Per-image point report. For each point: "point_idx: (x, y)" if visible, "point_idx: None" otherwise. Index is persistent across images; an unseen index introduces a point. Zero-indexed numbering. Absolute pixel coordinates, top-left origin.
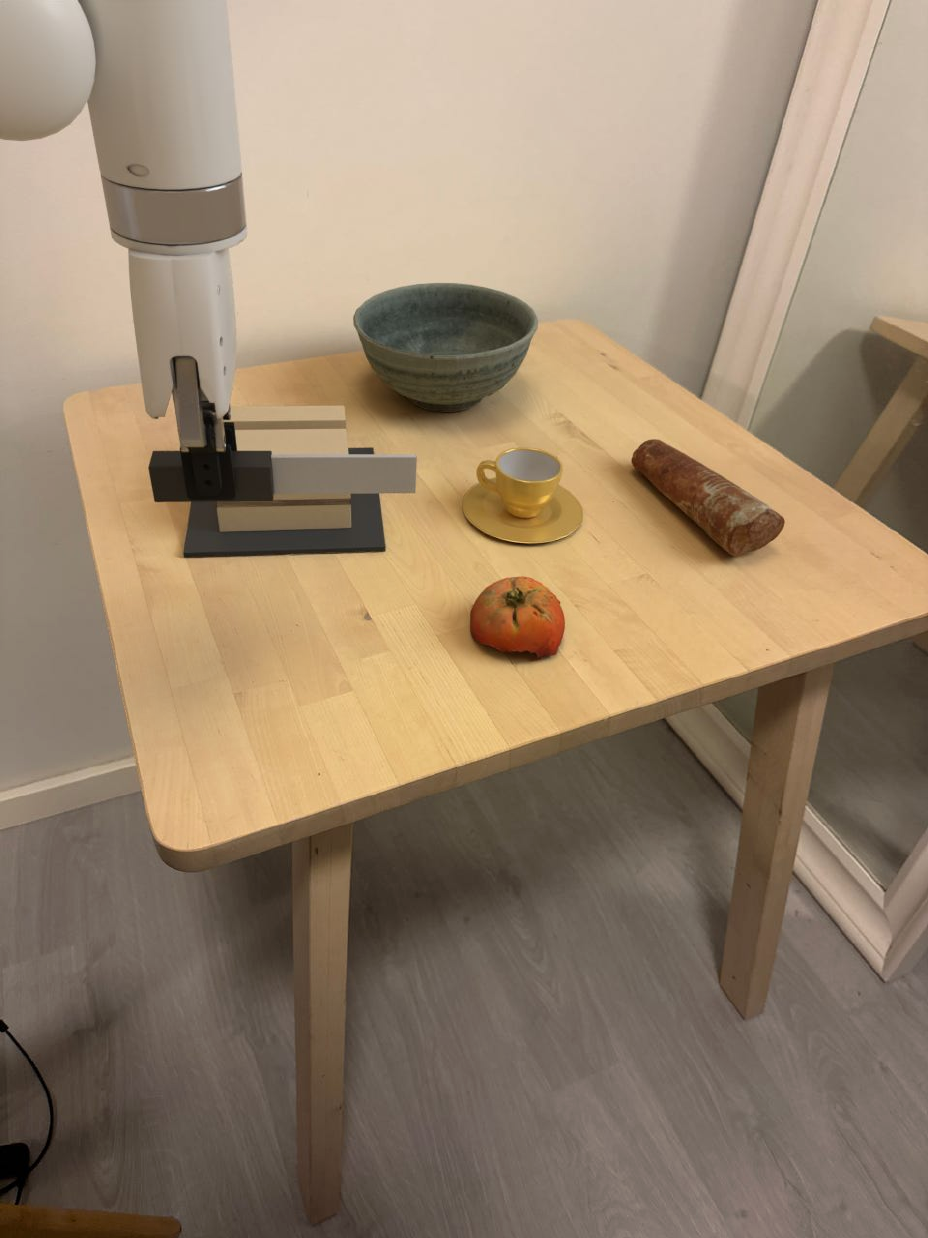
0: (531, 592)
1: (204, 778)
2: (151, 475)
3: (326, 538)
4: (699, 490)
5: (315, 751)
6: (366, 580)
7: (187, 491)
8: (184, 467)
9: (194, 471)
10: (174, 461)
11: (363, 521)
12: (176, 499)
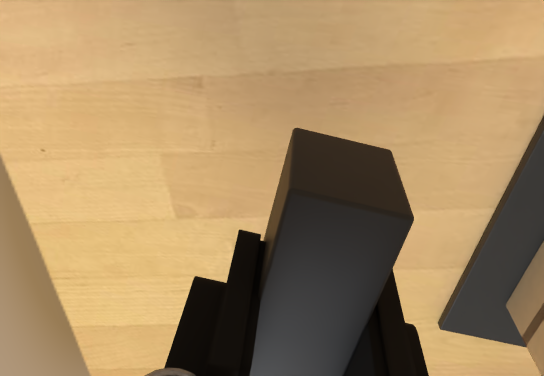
0: None
1: (43, 10)
2: (288, 177)
3: (497, 270)
4: None
5: (79, 154)
6: None
7: (236, 242)
8: (222, 304)
9: (178, 328)
10: (304, 273)
11: (513, 322)
12: (277, 189)
